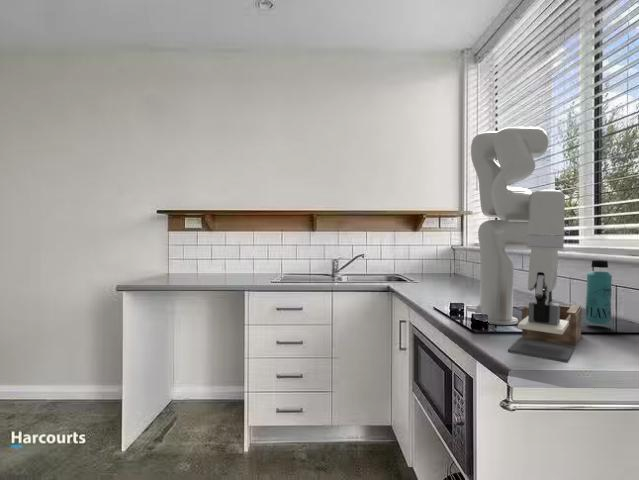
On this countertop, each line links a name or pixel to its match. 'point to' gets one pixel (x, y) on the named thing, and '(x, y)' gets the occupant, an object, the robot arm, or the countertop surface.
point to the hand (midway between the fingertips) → (542, 319)
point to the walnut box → (570, 333)
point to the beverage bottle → (598, 294)
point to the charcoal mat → (542, 349)
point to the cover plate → (543, 326)
